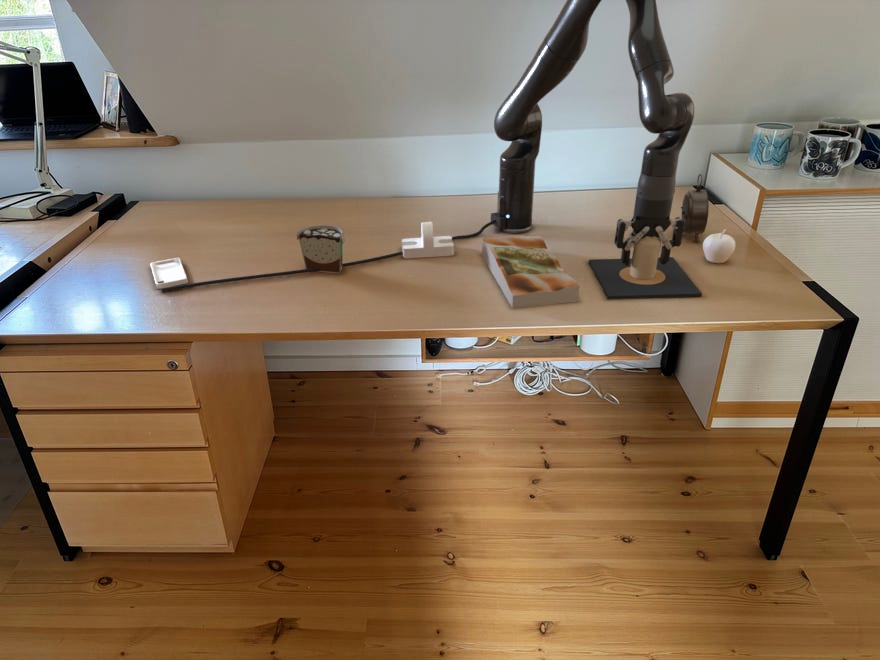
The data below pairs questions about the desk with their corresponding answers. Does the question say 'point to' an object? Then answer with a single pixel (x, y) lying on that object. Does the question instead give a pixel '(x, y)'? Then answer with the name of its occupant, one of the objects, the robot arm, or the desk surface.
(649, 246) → the candle
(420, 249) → the slotted bracket
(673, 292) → the mat
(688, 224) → the alarm clock
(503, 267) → the topographic model
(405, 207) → the desk surface
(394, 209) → the desk surface
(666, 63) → the robot arm
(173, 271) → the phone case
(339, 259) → the food container
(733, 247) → the plain white apple
